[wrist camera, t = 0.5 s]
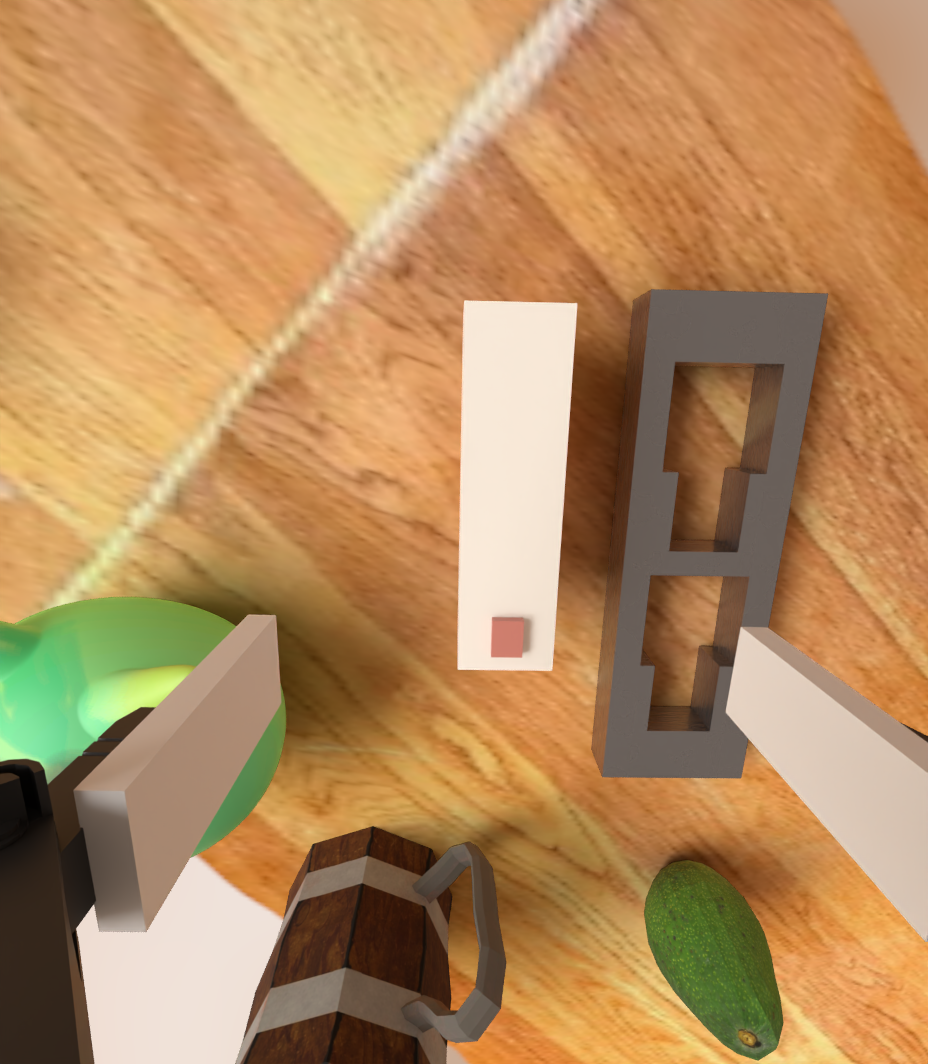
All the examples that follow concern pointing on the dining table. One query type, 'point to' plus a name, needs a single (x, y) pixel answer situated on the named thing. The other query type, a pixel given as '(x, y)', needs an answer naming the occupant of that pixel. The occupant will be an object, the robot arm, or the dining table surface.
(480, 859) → the mug
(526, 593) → the cream block with pegs
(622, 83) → the dining table surface
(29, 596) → the dining table surface
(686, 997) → the fruit
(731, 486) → the keyhole plate
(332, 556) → the dining table surface
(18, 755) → the toy bird
